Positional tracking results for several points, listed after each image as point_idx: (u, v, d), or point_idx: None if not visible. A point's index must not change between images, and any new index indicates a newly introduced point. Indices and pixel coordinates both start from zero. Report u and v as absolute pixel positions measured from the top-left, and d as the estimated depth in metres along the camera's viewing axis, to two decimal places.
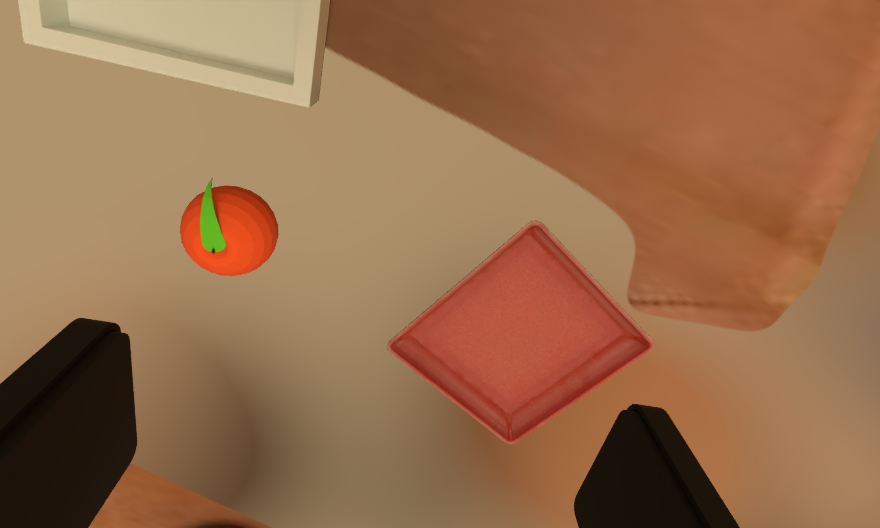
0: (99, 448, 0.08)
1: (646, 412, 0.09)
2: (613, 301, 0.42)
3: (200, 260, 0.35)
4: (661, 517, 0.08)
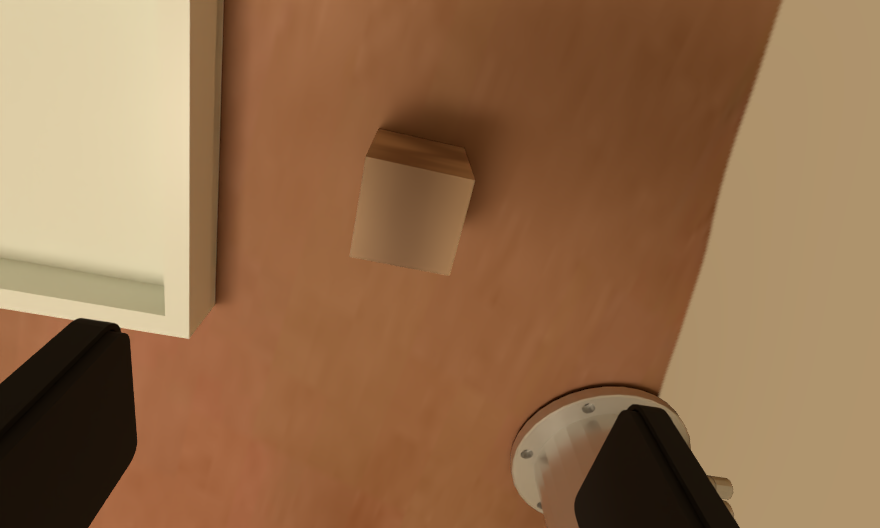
0: (99, 448, 0.08)
1: (646, 412, 0.09)
2: None
3: None
4: (661, 517, 0.08)
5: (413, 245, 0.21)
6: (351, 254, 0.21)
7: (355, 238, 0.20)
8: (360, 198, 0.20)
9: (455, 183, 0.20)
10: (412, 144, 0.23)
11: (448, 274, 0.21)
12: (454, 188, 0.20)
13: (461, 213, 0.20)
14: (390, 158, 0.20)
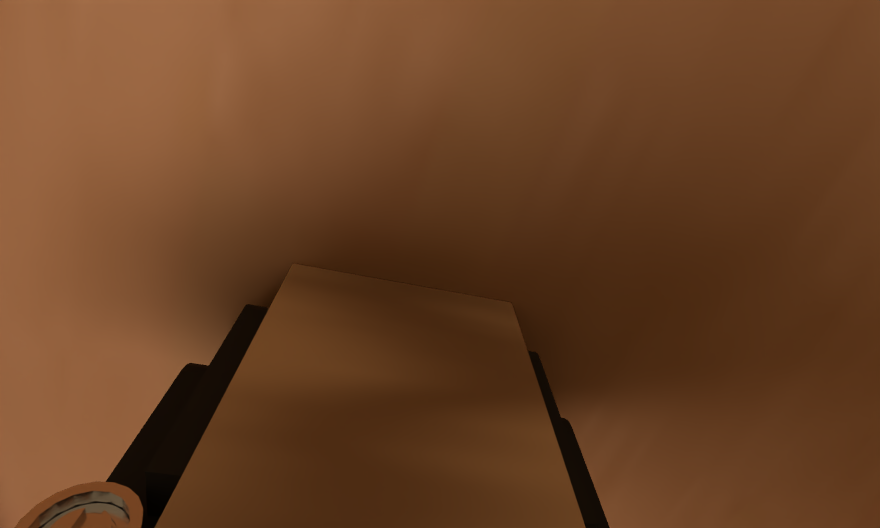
0: None
1: None
2: None
3: None
4: None
5: None
6: None
7: None
8: None
9: None
10: (375, 336, 0.08)
11: None
12: None
13: None
14: None
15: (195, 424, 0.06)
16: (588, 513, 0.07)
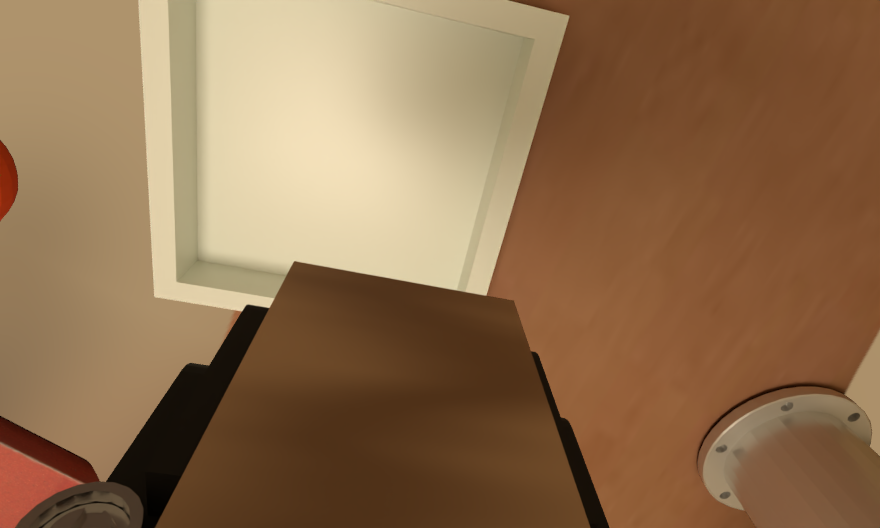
0: None
1: None
2: None
3: None
4: None
5: None
6: None
7: None
8: None
9: None
10: (377, 334, 0.08)
11: None
12: None
13: None
14: None
15: (195, 424, 0.06)
16: (588, 513, 0.07)
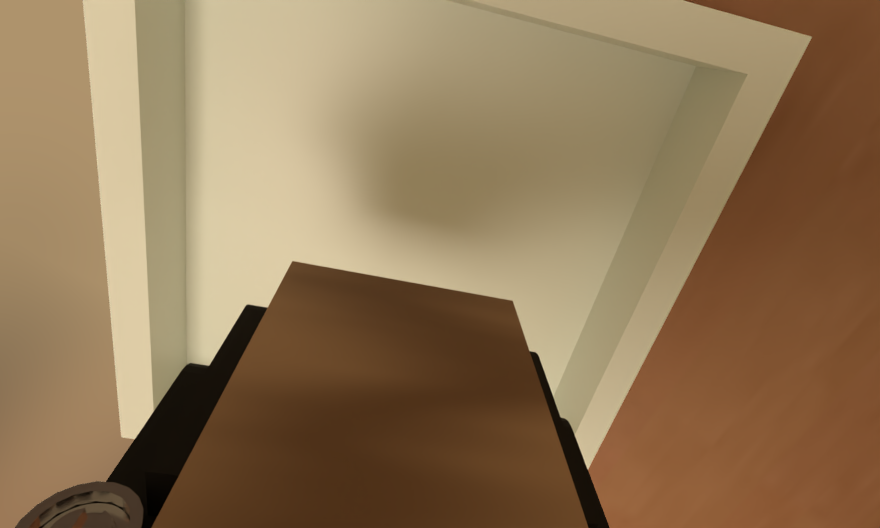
0: None
1: None
2: None
3: None
4: None
5: None
6: None
7: None
8: None
9: None
10: (375, 334, 0.08)
11: None
12: None
13: None
14: None
15: (195, 424, 0.06)
16: (588, 513, 0.07)
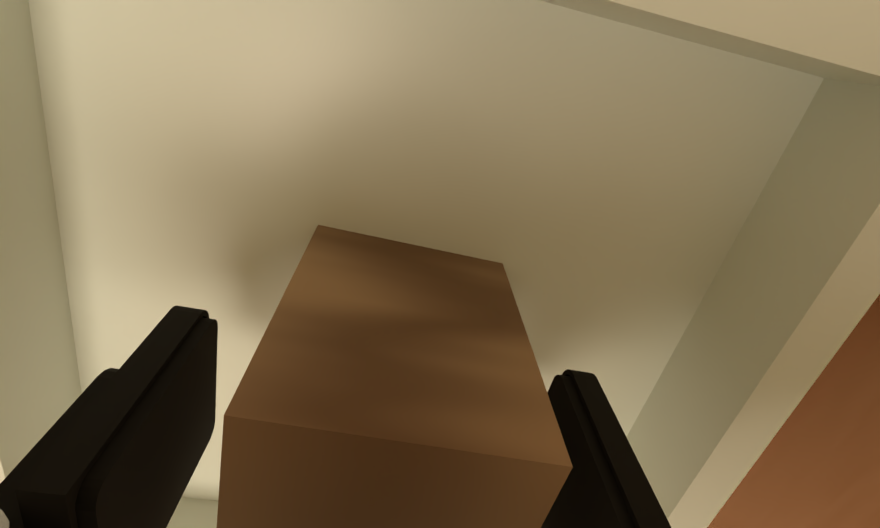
0: (194, 423, 0.08)
1: (576, 376, 0.09)
2: None
3: None
4: (578, 468, 0.08)
5: None
6: None
7: None
8: (223, 510, 0.07)
9: (512, 474, 0.06)
10: (389, 280, 0.10)
11: None
12: (507, 485, 0.06)
13: None
14: (311, 397, 0.06)
15: (86, 436, 0.06)
16: None
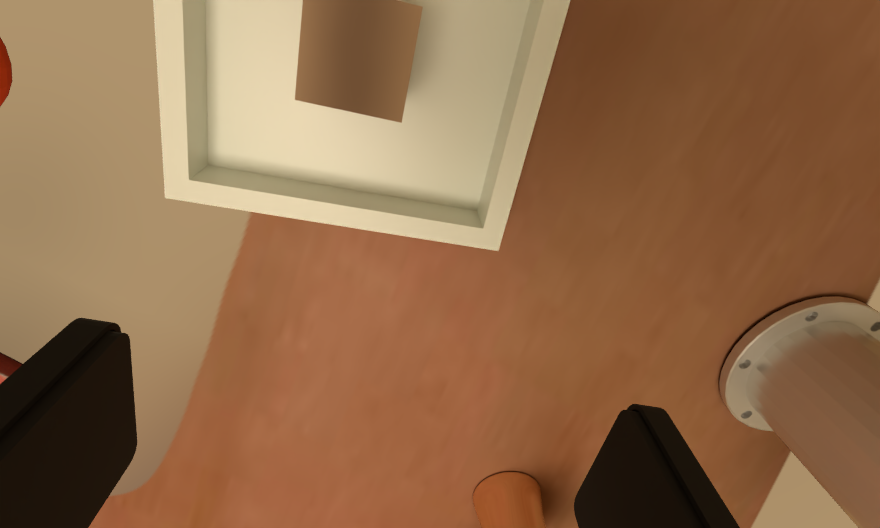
0: (99, 448, 0.08)
1: (646, 412, 0.09)
2: None
3: None
4: (661, 517, 0.08)
5: (361, 85, 0.20)
6: (296, 97, 0.20)
7: (299, 77, 0.19)
8: (302, 28, 0.19)
9: (402, 10, 0.19)
10: None
11: (400, 121, 0.20)
12: (401, 16, 0.19)
13: (410, 47, 0.19)
14: None
15: None
16: None
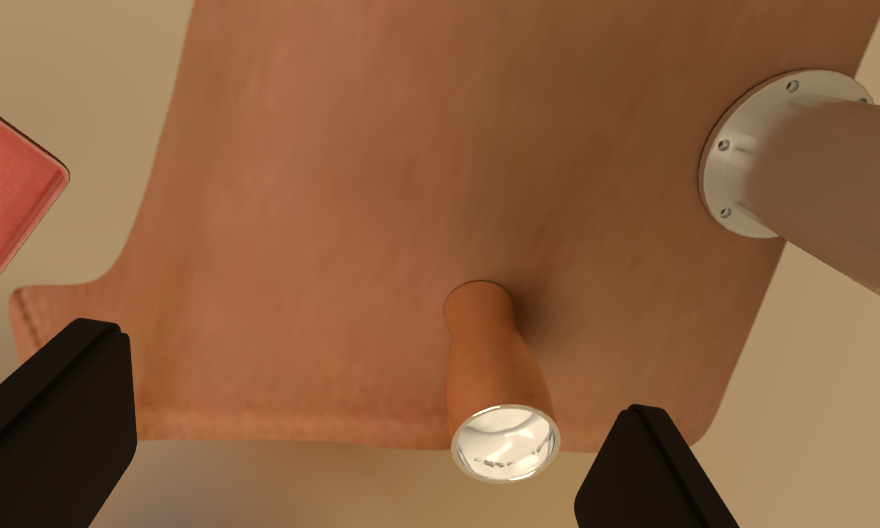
0: (99, 448, 0.08)
1: (646, 412, 0.09)
2: None
3: None
4: (661, 517, 0.08)
5: None
6: None
7: None
8: None
9: None
10: None
11: None
12: None
13: None
14: None
15: None
16: None
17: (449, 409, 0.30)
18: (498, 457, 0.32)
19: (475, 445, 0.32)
